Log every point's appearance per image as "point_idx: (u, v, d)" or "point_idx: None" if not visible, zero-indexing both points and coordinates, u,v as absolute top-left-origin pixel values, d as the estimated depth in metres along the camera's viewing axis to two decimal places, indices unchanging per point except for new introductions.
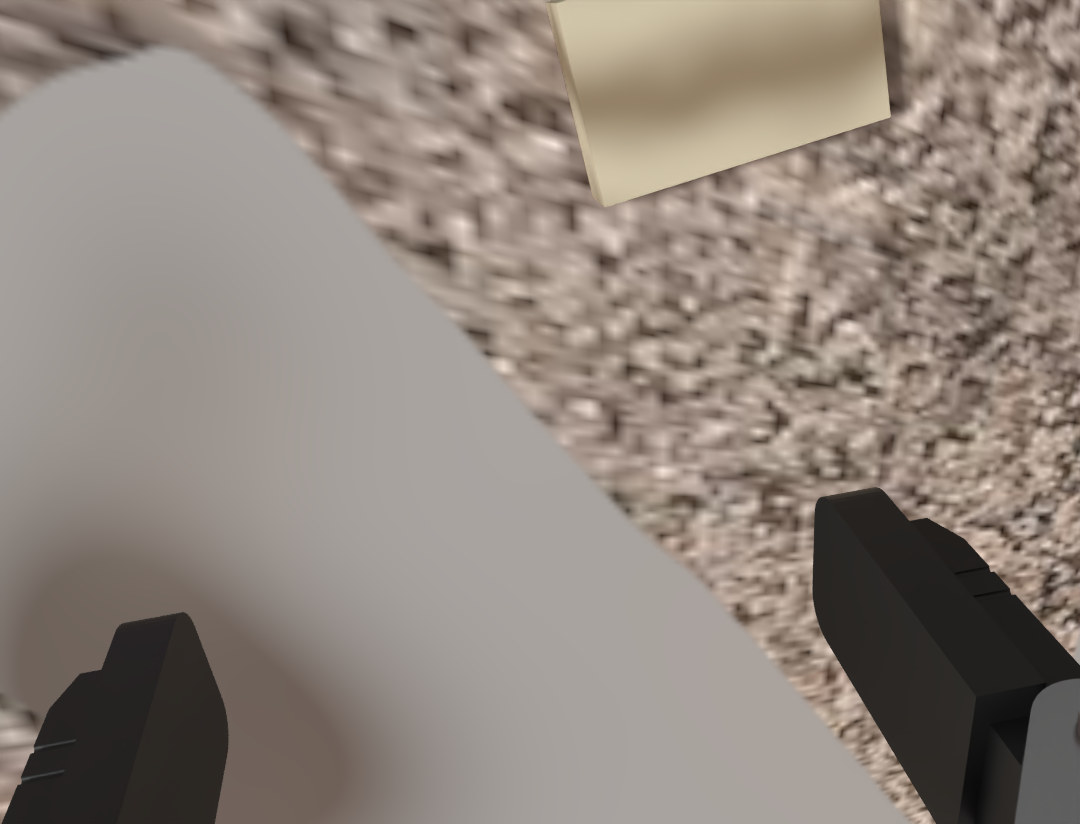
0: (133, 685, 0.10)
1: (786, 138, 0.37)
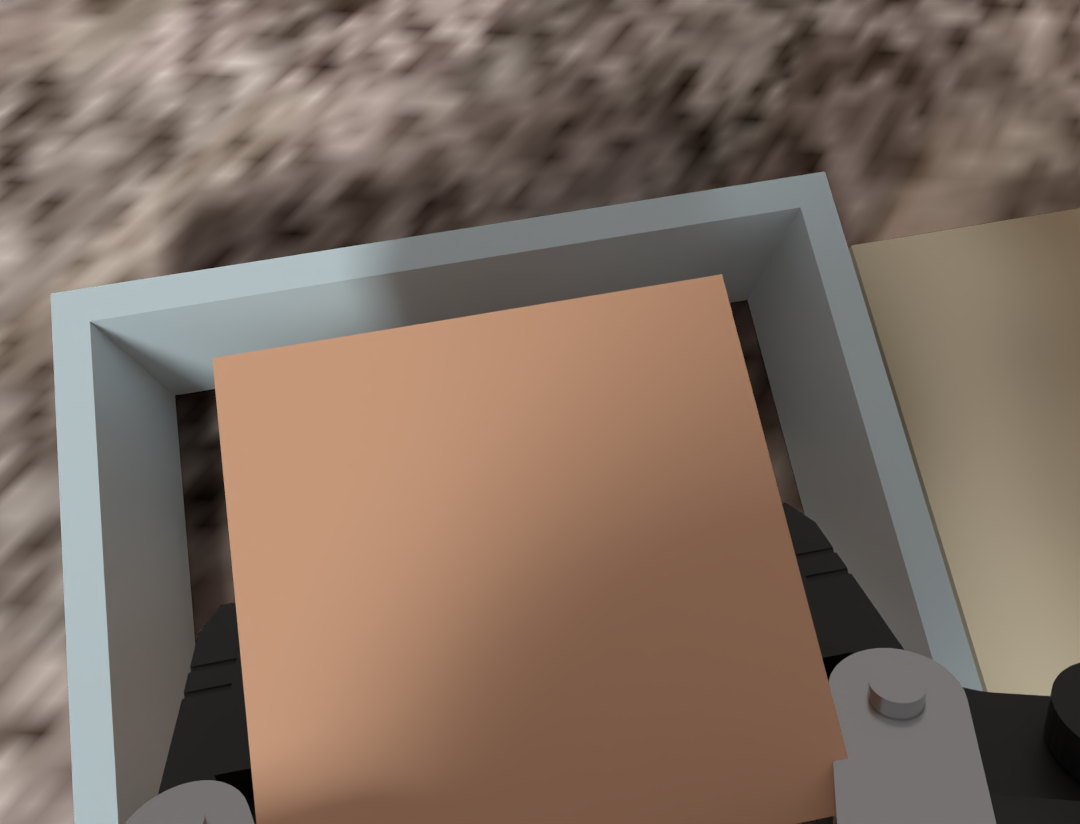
0: None
1: None
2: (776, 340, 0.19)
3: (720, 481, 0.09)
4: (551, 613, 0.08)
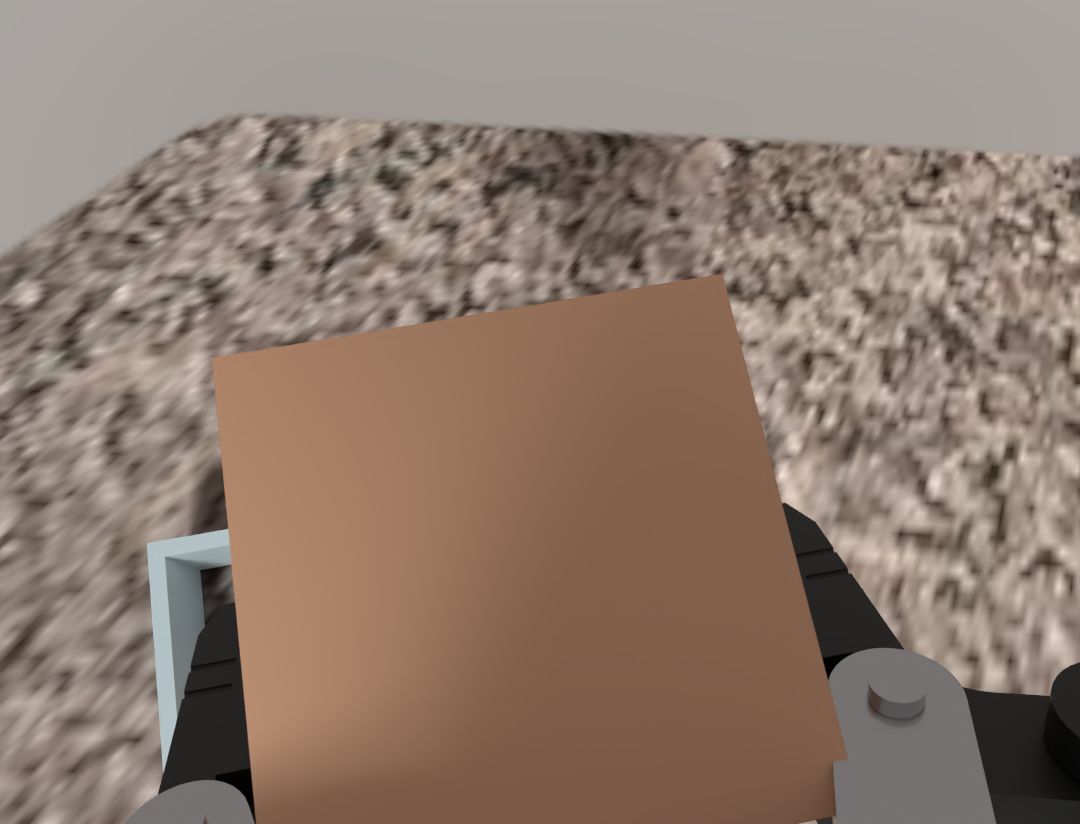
0: None
1: None
2: None
3: (720, 481, 0.09)
4: (550, 613, 0.08)
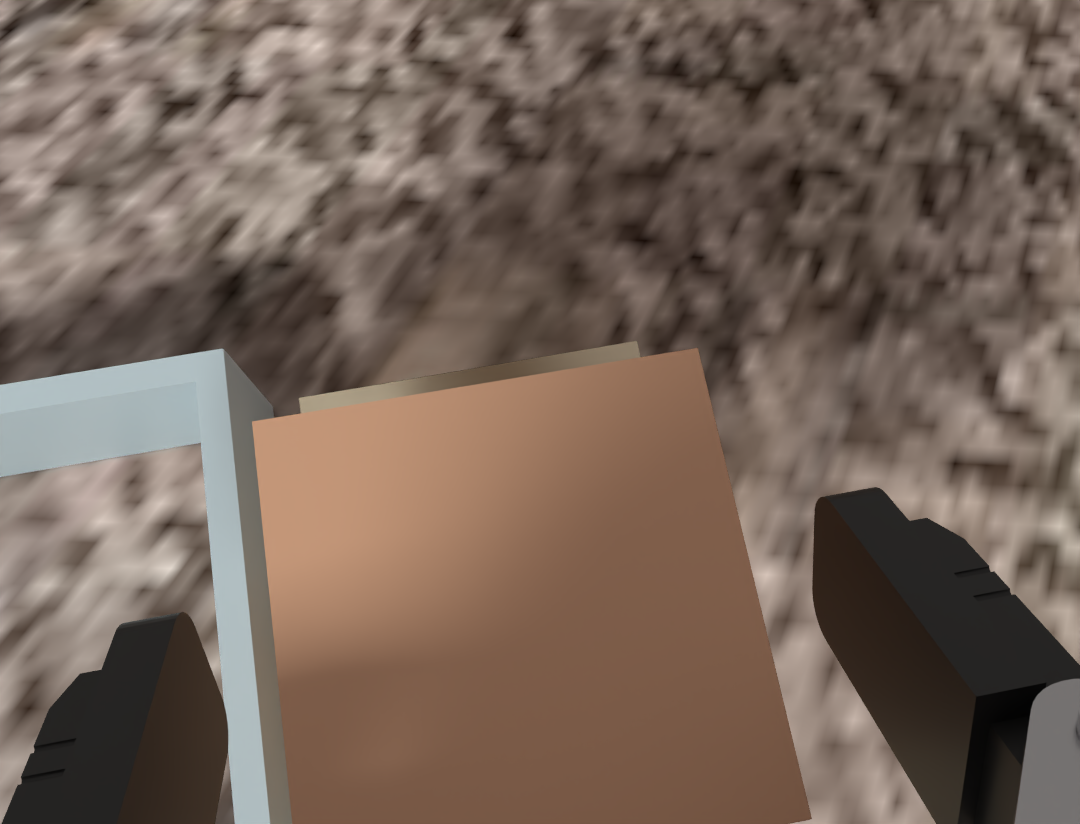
0: (133, 685, 0.10)
1: None
2: None
3: (694, 532, 0.10)
4: (545, 647, 0.10)
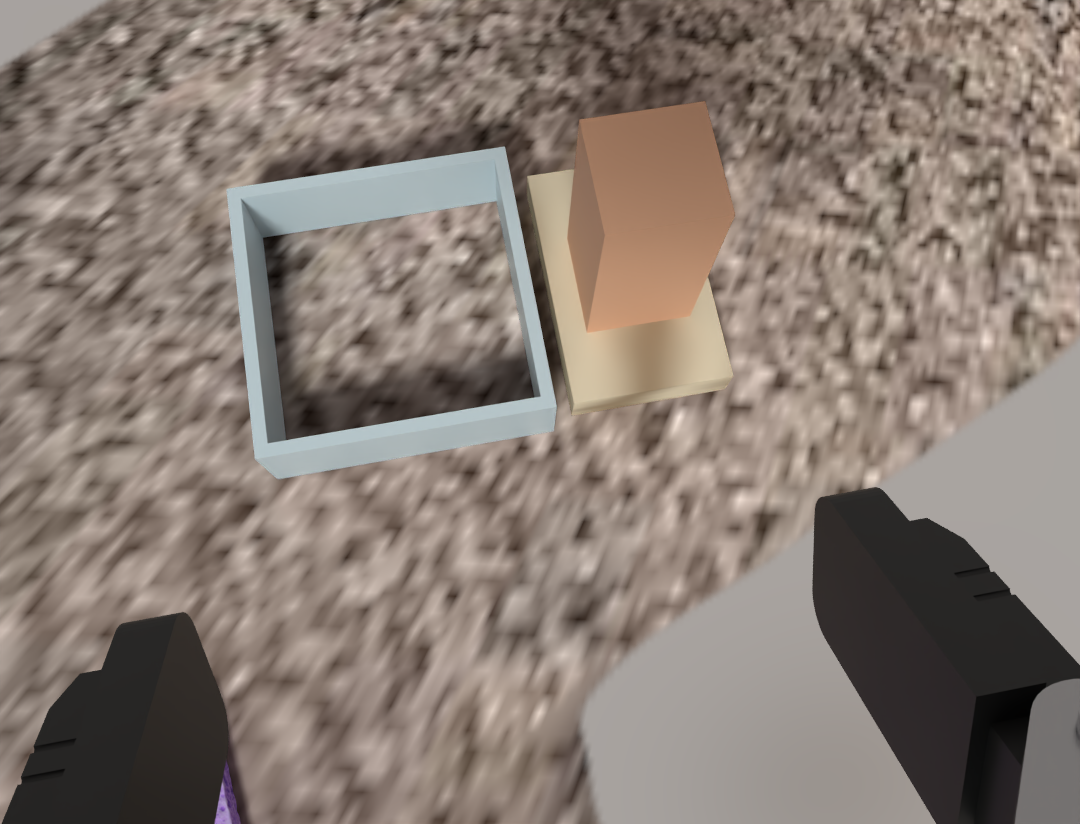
0: (133, 684, 0.10)
1: None
2: (500, 214, 0.48)
3: (704, 148, 0.37)
4: (664, 175, 0.36)
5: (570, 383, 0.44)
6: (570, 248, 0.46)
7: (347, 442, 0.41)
